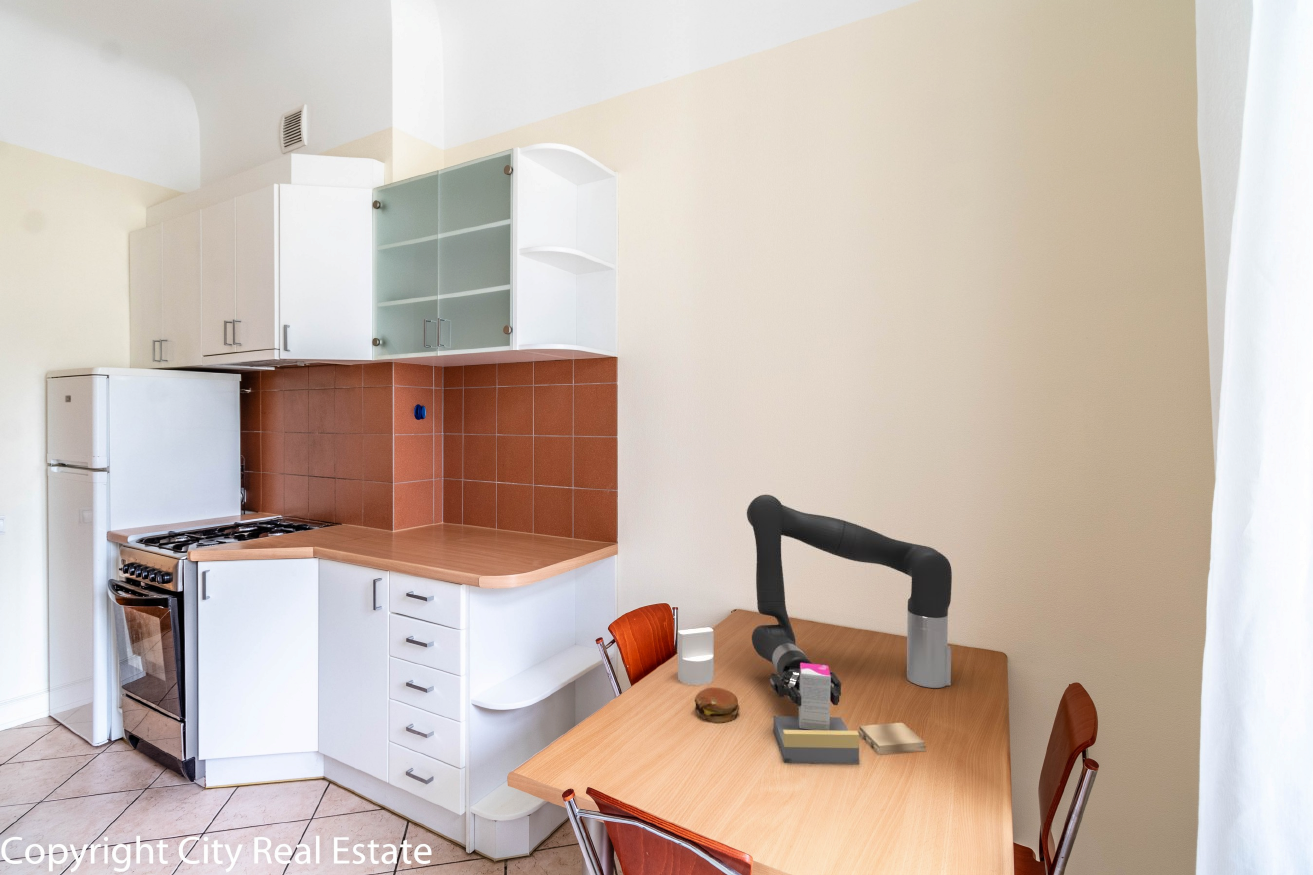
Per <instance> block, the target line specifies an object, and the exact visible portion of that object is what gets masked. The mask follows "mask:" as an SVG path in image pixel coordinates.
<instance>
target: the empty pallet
mask: <svg viewBox="0 0 1313 875" xmlns="http://www.w3.org/2000/svg"><path fill="white" fill-rule="evenodd" d="M858 734H859V738H860V737H861V739H862V740H865V743H866V744H867V745H868V746H869V747H872V748H873V752H875V754H877V755H878V756H881V755H882V756H883V755H894V754H904V753H906V754H907V753H914V752H915V753H916V752H926V750H927V748H926V747H927V746H926V745H925V744H926V742H925V741H924V740H923V739H922V738H921V737H920V736H918V734H916V733H915V732H914V731H913V730H912V729H911V728H909V727H908V726H907V725H906V724H904V723H903V722H895V723H894V722H892V723H882V724H881V723H880V724H870V725H869V724H868V725H859V729H858Z"/></svg>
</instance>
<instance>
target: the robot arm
mask: <svg viewBox="0 0 1313 875" xmlns="http://www.w3.org/2000/svg"><path fill="white" fill-rule="evenodd" d="M746 517H747V521H748V523H749V524H750V526H751V527H752V530H753V533H754V534H753V535H754V538H755V547H756V548H755V550H756V551H755V552H756V567H755V568H756V570H755V572H756V574H755V586H756V588H755V589H756V601H757V602H756V605H757V612H758V613H759V614H761V615H764V616H771V617H772V618H775V619H776V621H777V624H763V625H758V626H756V627H755V628H754V630H753V631H752V633H751V643H752V646H753V648H754V650H755V653H757V655H758V656H760V657H761V658H763V659H765V660H766V661H767V662H770V663H771V664H772V665H773V667H774V670H775V672H776V673H777V674H776V673H775V672H774V673H770V684H769V685H770V686H769V687H771V689H772V690H773V691H774V692H775V694H776V695H777V697H779V698H784V697H785V696H786V697H787V698H788V699H790V701H791V702H792V704H793V705H796V706H797V707H799V706H801V695H800V693H799V688H800V663H808V664H813V663H812V661H811V660H810V659H809V658H808V656H807V655H806V654H805V653H804V652H803V650H802V649H800V648H799V647H798V646H797V644H796V636H795V633H794V630H793V627H792V625H791V622H790V619H789V614H788V610H787V605H786V594H785V593H786V592H785V591H786V590H785V582H784V572H783V561H782V559H783V558H782V536H783V537H788V538H792V539H794V540H796V541H799V542H802V543H804V544H806V545H808V546H811V547H813V548H816V549H818V550H821V551H823V552H826V553H829V554H831V555H834V556H837V557H840V558H843V559H846V560H850V561H853V562H854V561H855V562H859V563H866V564H874V565H875V564H876V565H881V566H885V567H887V568H891V569H893V570H896V571H898V572H900V573H903V574H905V575H907V576H909V577H911V585H910V586H911V589H910V591H911V592H910V597H909V598H908V599H907V619H906V620H907V621H906V622H907V623H906V624H907V626H906V627H907V630H906V631H907V632H906V633H907V634H906V637H907V638H906V639H907V640H906V642H907V643H906V649H907V650H906V679H907V680H908V681H909V682H911V683H913V684H914V685H918V686H920V687H924V688H930V689H931V688H932V689H936V688H937V689H939V688H945V687H947V686H951V684H952V683H951V681H952V680H951V679H952V676H951V674H952V671H951V670H952V666H951V665H952V648H951V646H950V645H949V644H948V635H949V634H948V629H949V626H948V622H949V620H948V618H949V608H950V605H951V602H952V583H953V581H952V580H953V578H952V577H953V573H952V572H953V571H952V570H953V569H952V565H951V563H950V560H949V559H948V558H947V557H946V556H945V555H944V554H943V553H941V552H939V551H938V550H936V549H935V548H932V547H931V546H926V545H921V544H916V543H915V544H914V543H911V542H907V541H904V540H898V539H894V538H891V537H888V536H886V535H884V534H882V533H879V532H877V531H874V530H873V529H870V528H867V527H864V526H862V525H860V524H857V523H853V522H850V521H846V520H844V519H840V518H835V517H831V516H826V515H819V514H813V513H807V512H803V511H799V510H796V509H794V508H792V507H789V506H786V505H784V504H782V502H781V501H780V500H779V499H778V498H777V497H776V496H774V495H770V494H761V495H758V496H756V497H755V498H754V499H753V500H751V501H750V503H749V505H748V507H747V509H746ZM830 675H831V686H830V703H832V704H833V706H838V705H839V703H840V697H841V696H842V682H841V681H840V679H839V678H838V677H837V675H836V673H834V672H833V671H830Z"/></svg>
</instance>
